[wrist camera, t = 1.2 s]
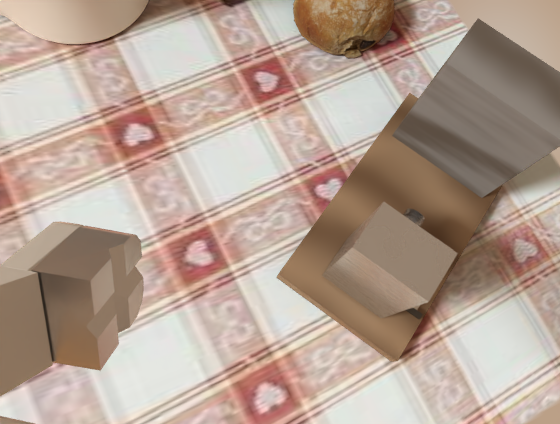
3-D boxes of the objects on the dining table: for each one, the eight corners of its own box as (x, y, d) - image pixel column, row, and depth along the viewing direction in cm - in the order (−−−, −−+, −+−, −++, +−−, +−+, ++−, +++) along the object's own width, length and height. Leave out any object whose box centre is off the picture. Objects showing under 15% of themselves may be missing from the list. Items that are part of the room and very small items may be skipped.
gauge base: (391, 361, 45) (464, 354, 32) (276, 277, 45) (302, 237, 33) (506, 170, 51) (604, 101, 39) (404, 100, 52) (466, 10, 40)
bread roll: (308, 79, 56) (342, 66, 49) (266, -15, 54) (295, -44, 46) (381, 42, 59) (424, 24, 51) (344, -50, 56) (384, -82, 49)
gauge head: (407, 337, 43) (462, 325, 34) (322, 275, 44) (352, 247, 35) (447, 269, 46) (510, 241, 36) (365, 211, 46) (405, 169, 37)
